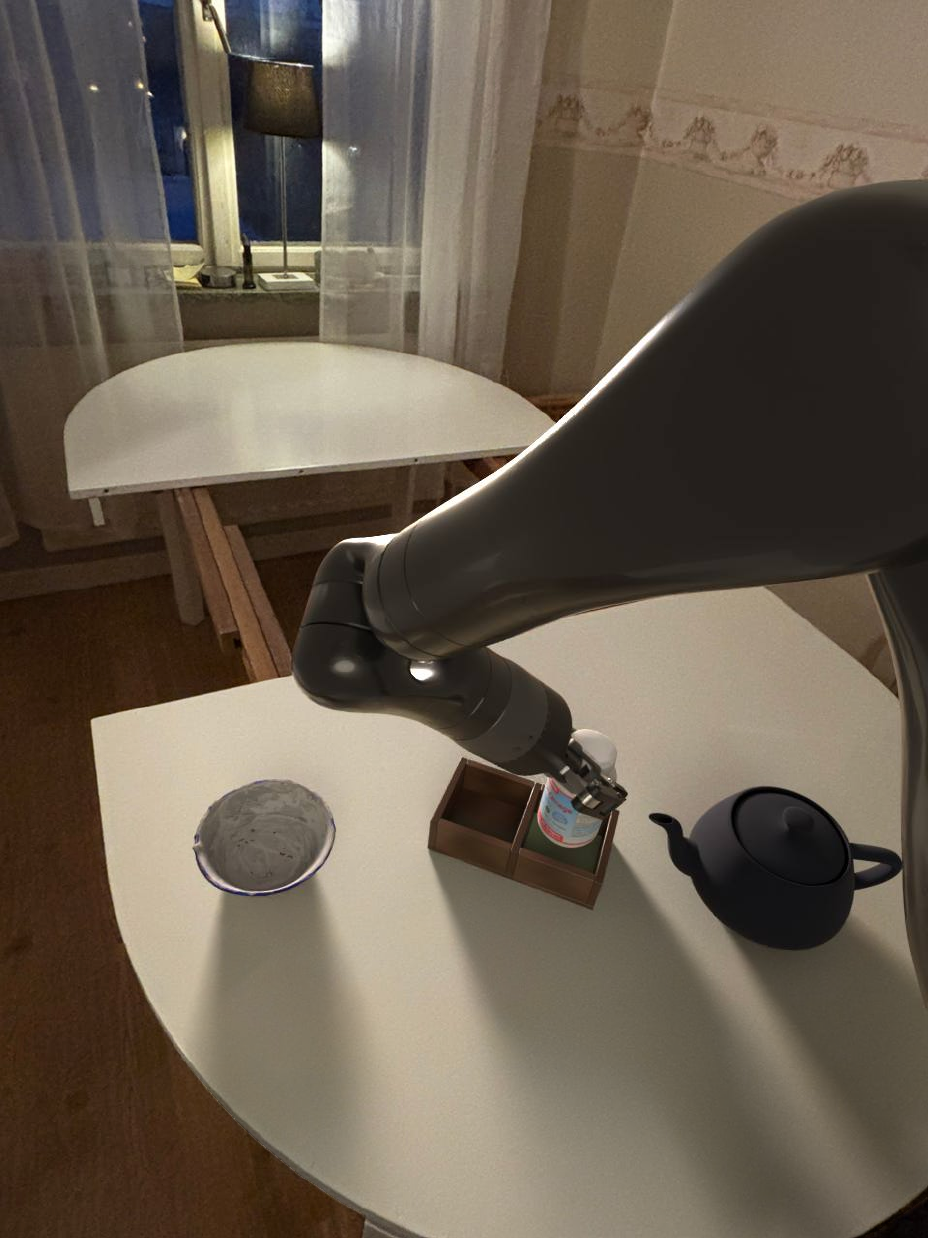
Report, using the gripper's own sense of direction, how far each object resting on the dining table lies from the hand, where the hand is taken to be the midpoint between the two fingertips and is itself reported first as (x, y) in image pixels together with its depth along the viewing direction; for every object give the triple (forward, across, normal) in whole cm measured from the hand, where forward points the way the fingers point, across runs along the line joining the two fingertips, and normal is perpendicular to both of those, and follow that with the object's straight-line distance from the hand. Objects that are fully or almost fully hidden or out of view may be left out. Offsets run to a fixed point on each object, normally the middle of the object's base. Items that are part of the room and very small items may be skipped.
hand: (597, 771), depth 69 cm
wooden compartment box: (+6, +3, +12) cm, 14 cm away
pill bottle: (+4, 0, +6) cm, 8 cm away
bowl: (-11, +10, +30) cm, 33 cm away
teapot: (+20, -10, -1) cm, 22 cm away
